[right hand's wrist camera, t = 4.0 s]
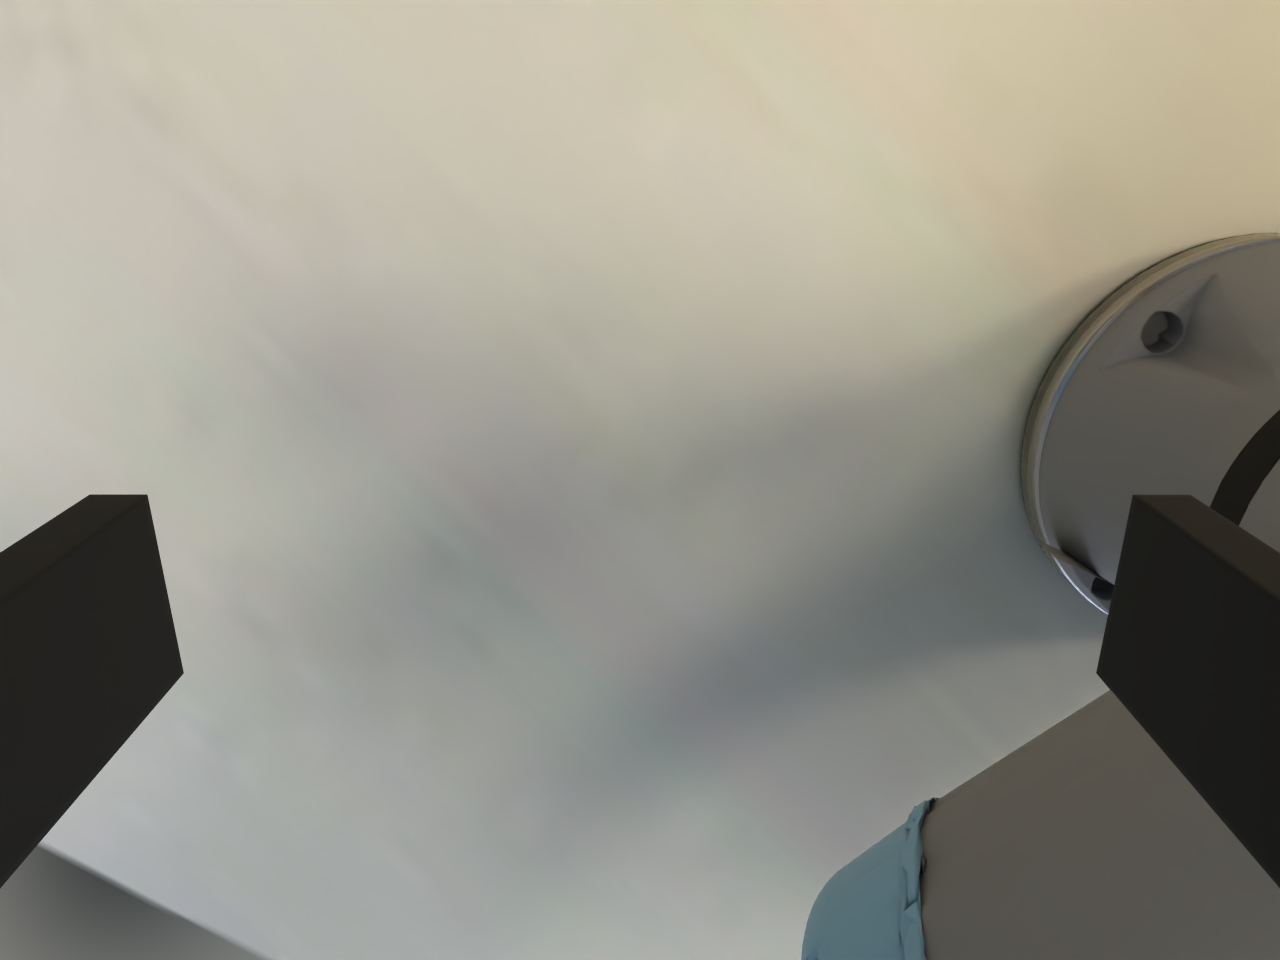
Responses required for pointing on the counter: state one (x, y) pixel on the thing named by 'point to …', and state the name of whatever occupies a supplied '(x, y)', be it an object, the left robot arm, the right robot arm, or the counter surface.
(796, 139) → the counter surface
